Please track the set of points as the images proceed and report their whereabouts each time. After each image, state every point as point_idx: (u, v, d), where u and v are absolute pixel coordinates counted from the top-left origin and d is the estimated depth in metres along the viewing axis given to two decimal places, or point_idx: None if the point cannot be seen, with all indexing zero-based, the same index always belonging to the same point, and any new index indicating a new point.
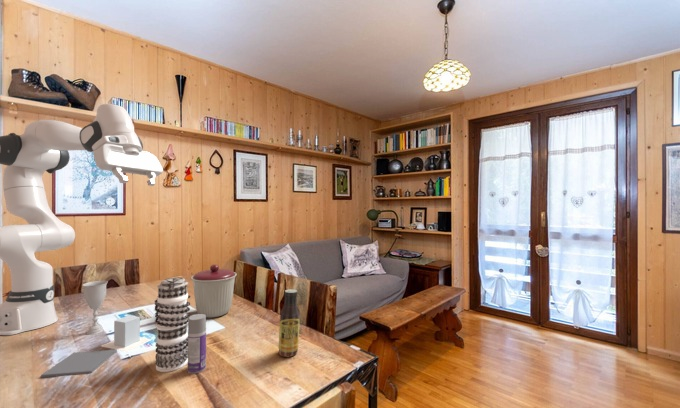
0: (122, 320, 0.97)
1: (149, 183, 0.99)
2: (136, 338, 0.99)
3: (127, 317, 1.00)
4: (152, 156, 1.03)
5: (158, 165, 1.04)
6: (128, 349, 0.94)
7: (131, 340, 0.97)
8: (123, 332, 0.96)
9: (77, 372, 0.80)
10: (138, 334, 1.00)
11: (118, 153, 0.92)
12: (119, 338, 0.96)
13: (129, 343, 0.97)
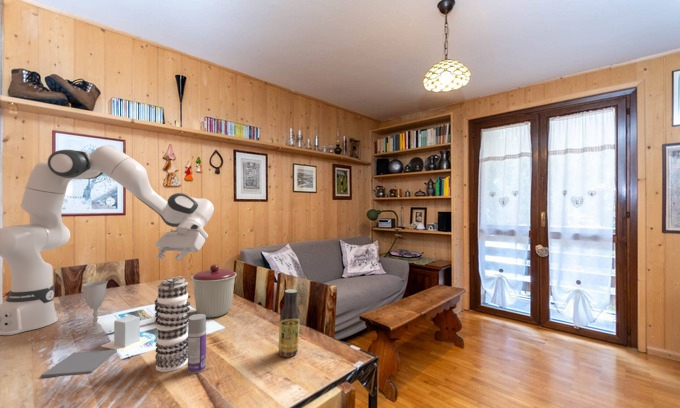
0: (122, 320, 0.97)
1: (161, 256, 1.14)
2: (136, 338, 0.99)
3: (127, 317, 1.00)
4: None
5: None
6: (128, 349, 0.94)
7: (131, 340, 0.97)
8: (123, 332, 0.96)
9: (77, 372, 0.80)
10: (138, 334, 1.00)
11: None
12: (119, 338, 0.96)
13: (129, 343, 0.97)
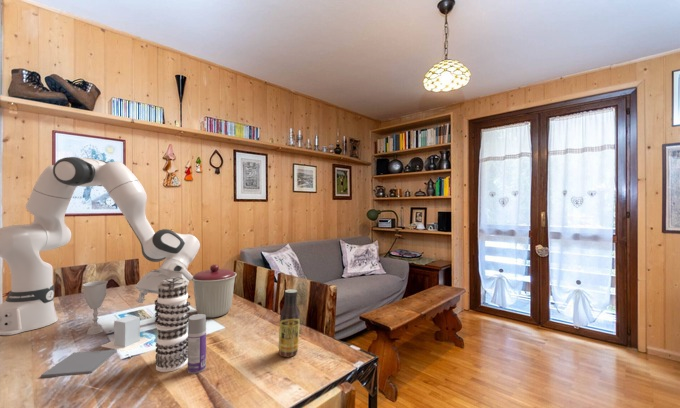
0: (122, 320, 0.97)
1: (141, 301, 1.07)
2: (136, 338, 0.99)
3: (127, 317, 1.00)
4: None
5: None
6: (128, 349, 0.94)
7: (131, 340, 0.97)
8: (123, 332, 0.96)
9: (77, 372, 0.80)
10: (138, 334, 1.00)
11: None
12: (119, 338, 0.96)
13: (129, 343, 0.97)
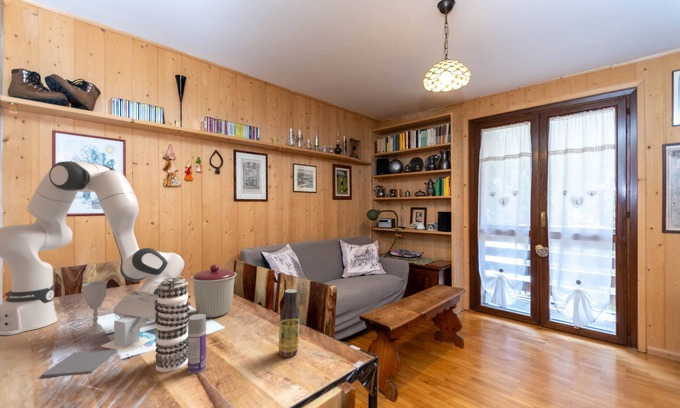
0: (122, 320, 0.97)
1: None
2: (136, 338, 0.99)
3: (127, 317, 1.00)
4: None
5: None
6: (128, 349, 0.94)
7: (131, 340, 0.97)
8: (123, 332, 0.96)
9: (77, 372, 0.80)
10: (138, 334, 1.00)
11: None
12: (119, 338, 0.96)
13: (129, 343, 0.97)
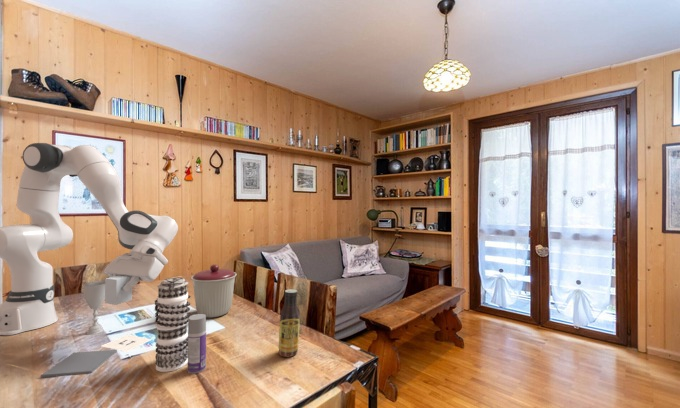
0: (113, 278, 0.94)
1: None
2: (128, 297, 0.96)
3: (119, 276, 0.97)
4: None
5: None
6: (128, 349, 0.94)
7: (123, 298, 0.95)
8: (114, 290, 0.93)
9: (77, 372, 0.80)
10: (130, 293, 0.97)
11: None
12: (110, 296, 0.93)
13: (120, 301, 0.94)
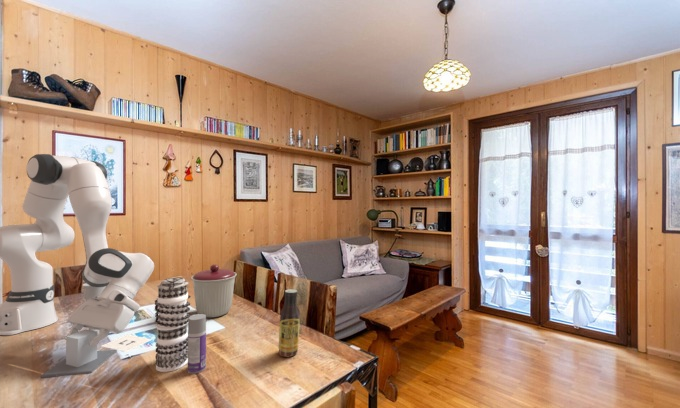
0: (75, 336, 0.84)
1: None
2: (92, 356, 0.86)
3: (82, 332, 0.87)
4: None
5: None
6: (128, 349, 0.94)
7: (86, 359, 0.85)
8: (76, 350, 0.83)
9: (77, 372, 0.80)
10: (95, 351, 0.87)
11: None
12: (71, 356, 0.83)
13: (83, 362, 0.84)
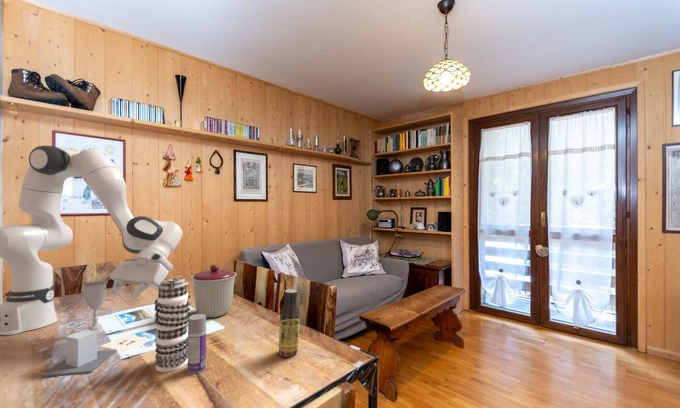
0: (75, 336, 0.84)
1: (115, 291, 0.98)
2: (92, 356, 0.86)
3: (82, 332, 0.87)
4: None
5: None
6: (128, 349, 0.94)
7: (86, 359, 0.85)
8: (76, 350, 0.83)
9: (77, 372, 0.80)
10: (95, 351, 0.87)
11: None
12: (71, 356, 0.83)
13: (83, 362, 0.84)
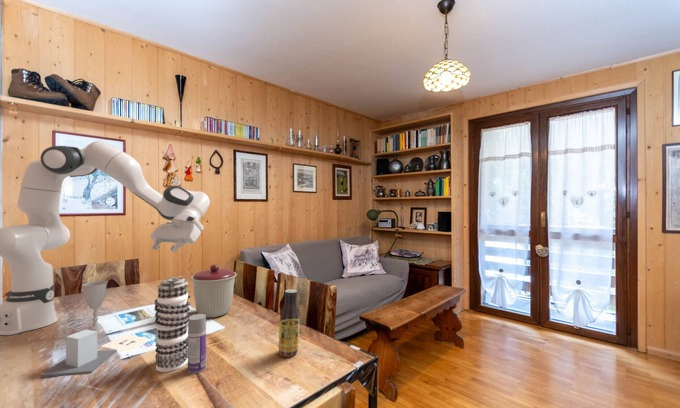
0: (75, 336, 0.84)
1: (156, 247, 1.14)
2: (92, 356, 0.86)
3: (82, 332, 0.87)
4: None
5: None
6: (128, 349, 0.94)
7: (86, 359, 0.85)
8: (76, 350, 0.83)
9: (77, 372, 0.80)
10: (95, 351, 0.87)
11: None
12: (71, 356, 0.83)
13: (83, 362, 0.84)
